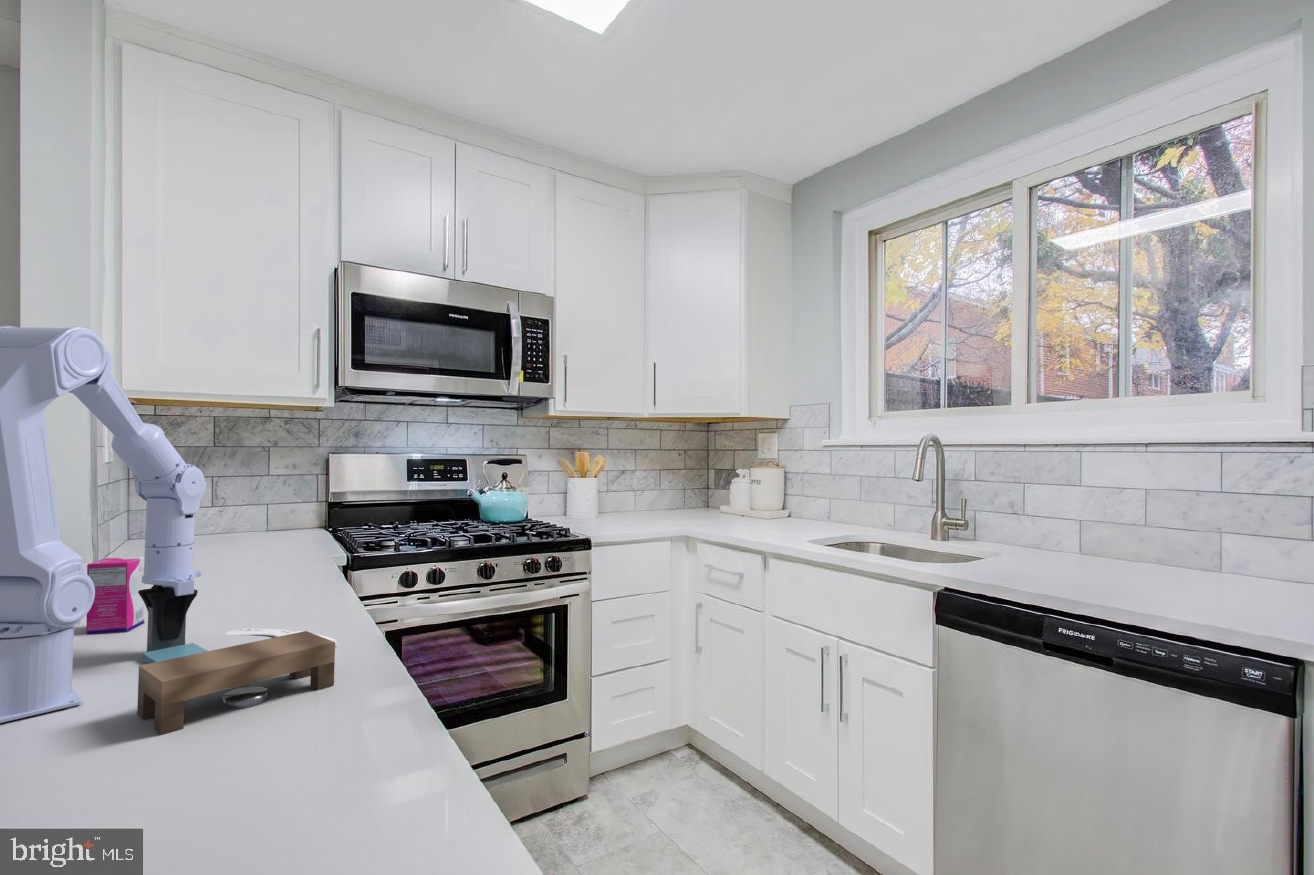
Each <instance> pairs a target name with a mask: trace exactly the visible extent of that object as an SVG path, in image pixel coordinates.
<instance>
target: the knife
mask: <svg viewBox="0 0 1314 875" xmlns="http://www.w3.org/2000/svg"><path fill="white" fill-rule="evenodd" d="M238 629H239V630H237V629H235V630H230V631H227V632H226V633H225V636H264V637H265V636H267V637H273V638H275V637H279V636H284V635H289V634H294V633H299V632H303V631H304V630H297V631H290V630H288V629H284V628H283V629H281V628H279V629H278V628H277V629H276V628H275V629H274V628H238ZM240 629H241V630H240ZM314 634H315V635H318V636H320V637H323V638H326V639H328V640H331V641H333V642H335V649H336V648H337V647H338V642H337V640H336V639H335V638H332V637H330V636H326V635H321V634H318V633H314Z"/></svg>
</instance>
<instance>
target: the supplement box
mask: <svg viewBox="0 0 1314 875" xmlns="http://www.w3.org/2000/svg"><path fill="white" fill-rule="evenodd" d="M144 557H145V555H144V556H142V555H141V556H129V557H127V556H126V557H107V558H102V559H100V560H97V561H94V562H90V563H87V564H86V573H87V575H88V576H89V577H90V578H91V579H92V581H93V583H94V587H95V597H94V601H93V604H92V606H91V608H90V610H89V612H88V613H87V614H86V629H85V630H86V631H85V632H86V633H85V634H87V635H94V634H95V635H97V634H99V635H100V634H110V633H112V634H113V633H115V634H116V633H128V632H130V631H132V630H134V629H135V628H137V627H139V626H141V625H143V624H144V623H145V603H144V601H143V599H142V598H141V596H140V595H139V593H138V591H139V590H143V589H145V584H144V583H142V576H143V575H144Z"/></svg>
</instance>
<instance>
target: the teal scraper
mask: <svg viewBox="0 0 1314 875" xmlns="http://www.w3.org/2000/svg"><path fill="white" fill-rule="evenodd" d="M186 619H187V615H186V616H185V619H184V622H183V626H182V629H181V632H180V635H179V638H177V639H171V640H166V641H160V638H159V635H158V630H157V621H156V616H155V612H154V609H153V606H150V607H148V610H147V633H146V635H147V639H146V651H145V652H142V656H141V659H142V661H143V662H145V663H146V664H150V663H155V662H159V661H164V660H169V659H174V658H179V657H183V656H188V655H193V654H198V653H203V652H207V651H208V650H207V649H205V648H203V647H201V646H199V645H198V644H196V643H194V642H191V643H186V625H187V624H186V621H187V620H186Z"/></svg>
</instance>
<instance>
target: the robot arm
mask: <svg viewBox="0 0 1314 875" xmlns="http://www.w3.org/2000/svg"><path fill="white" fill-rule="evenodd" d="M113 357H114V356H113V354H112V353H111V352H110V351H109V350H108V349H107V348H106V345H105V344H104V342H103V340H102V338H101V337H100V336H99V335H98V333H96V332H95V331H93V330H91V329H89V328H86V327H82V326H72V327H18V326H13V325H12V326H11V325H3V326H1V325H0V724H2V723H7V722H10V721H11V722H12V721H15V720H19V719H23V718H27V717H32V716H36V715H41V714H45V713H49V712H54V711H59V710H63V709H66V708H67V709H68V708H71V707H75V706H79V705H82V704H83V702H84V701H83V698H81V696H79V694H77V693H76V691H75V690H74V689H73V665H74V664H73V662H74V638H75V627H77V626H80V625H81V621H82V620H83V619H84V618H85V616H87V613H88V612H89V610H90V608H91V606H92V604H93V601H94V597H95V587H94V583H93V581H92V579H91V578H90V577H89V576H88V575H87V570H86V569H85V564H84V559H83V557H82V556H80V555H79V554H78V553H77V552H75V551H74V550H73V549H71V548H70V547H68V545H66V544H64V543H63V542H62V540H61V532H60V525H59V519H58V510H57V504H56V502H57V501H56V496H55V489H54V488H55V487H54V480H53V474H52V467H51V466H52V465H51V459H50V452H49V446H48V445H49V444H48V437H47V430H46V422H45V416H44V415H45V414H44V410H45V409H46V408H47V407H48V406H49V405H50V404H52V403H53V401H55V400H56V399H57V398H59V397H60V396H63V395H66V394H67V393H69V394H72V395H74V396H75V397H76V398H77V399H78V401H80V402H81V403H82V404H83V405H84V406H85V407H86V408H87V409H88V410H89V412H91V414H93V415H94V417H96V418H97V420H98V421H99V422H101V423H102V424H103V426H105V427H106V429H107V430H108V431H109V432H110V433H111V434H112V435H113V438H112V440H111V448H112V450H113V451H114V453H115V454H116V455H117V456H118V457H119V458H120V460H122V462H123V463H124V464H125V465H126V466H127V467H128V469H129V470H130V471H131V473H132V474H131V475H132V479H133V480H134V487H135V492H136V495H137V496H138V497H140V498H141V499H142V500H143V501H146V503H145V504H146V507H145V508H146V510H145V511H146V512H145V537H144V575H143V576H142V583H144V585H151V588H144V589H143V590H139V591H138V593H139V595H140V596H141V598H142V599H143V601H144V606H145V608H146V611H148V607H150V606H153V609H154V612H155V616H156V621H157V630H158V635H159V638H160V641H166V640H171V639H177V638H179V635H180V632H181V629H182V626H183V622H184V619H185V616H186V617H187V613H188V611H189V609H190V606H191V605H192V603H193V601H194V599H195V598H196V597H197V596H198V591H199V590H198V589H195V580H194V579H195V578H199V577H203V570H202V571H201V570H199V569H198V570H194V553H195V552H194V551H195V550H194V549H195V548H194V547H195V529H196V528H195V526H196V525H195V524H196V523H195V522H196V513H198V512H199V509H200V507H201V506H200V505H201V499H202V497H203V496H204V494H205V492H206V489H207V483H208V482H207V481H205V476H204V473H203V472H202V470H201V469H200V468H198V467H197V466H195V465H194V464H191V463H186V462H185V460H184V458H182V456H181V454H180V453H178V451H177V449H176V448H175V447H174V446H173V445H172V442H171V441H170V440H169V439H168V438H167V437H166V435H165V431H164V430H163V429H162V428H161V427H159V426H158V425H156V424H153V423H148V422H143V421H142V419H141V417H140V415H139V414H138V413H137V411H136V410H135V407H134V406H133V405H132V403H131V402H130V400H129V399H128V397H127V396H126V393H125V392H124V391H123V389H122V387H121V386H120V384H119V383H118V381H117V380H116V378H115V376H114V374H113V373H112V372H111V371H112V369H113V368H112V367H113V364H114V363H113V362H114V358H113Z"/></svg>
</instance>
